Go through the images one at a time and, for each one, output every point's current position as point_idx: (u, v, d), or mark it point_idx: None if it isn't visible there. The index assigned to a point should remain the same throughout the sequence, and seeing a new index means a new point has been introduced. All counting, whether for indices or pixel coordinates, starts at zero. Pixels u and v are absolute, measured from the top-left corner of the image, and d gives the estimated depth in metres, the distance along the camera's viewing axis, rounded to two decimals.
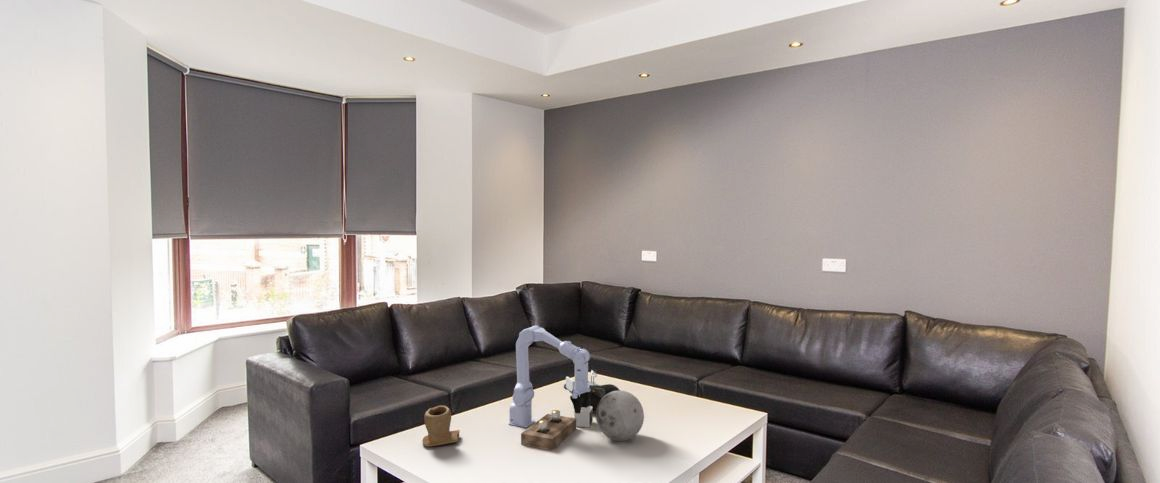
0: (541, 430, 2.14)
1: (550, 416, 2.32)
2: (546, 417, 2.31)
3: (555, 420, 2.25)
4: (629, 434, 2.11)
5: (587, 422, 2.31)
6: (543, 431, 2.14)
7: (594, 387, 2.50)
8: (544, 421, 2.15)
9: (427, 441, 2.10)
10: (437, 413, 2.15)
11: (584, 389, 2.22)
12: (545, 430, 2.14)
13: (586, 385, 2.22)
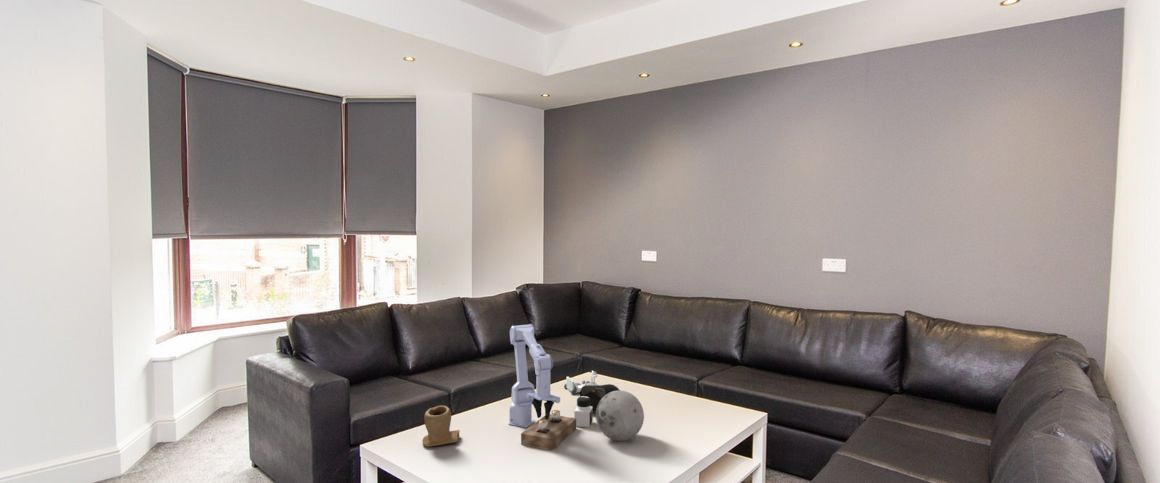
0: (541, 430, 2.14)
1: (550, 416, 2.32)
2: None
3: (555, 420, 2.25)
4: (629, 434, 2.11)
5: (587, 422, 2.31)
6: (543, 431, 2.14)
7: (594, 387, 2.50)
8: (544, 421, 2.15)
9: (427, 441, 2.10)
10: (437, 413, 2.15)
11: (537, 395, 2.14)
12: (545, 430, 2.14)
13: (538, 392, 2.13)
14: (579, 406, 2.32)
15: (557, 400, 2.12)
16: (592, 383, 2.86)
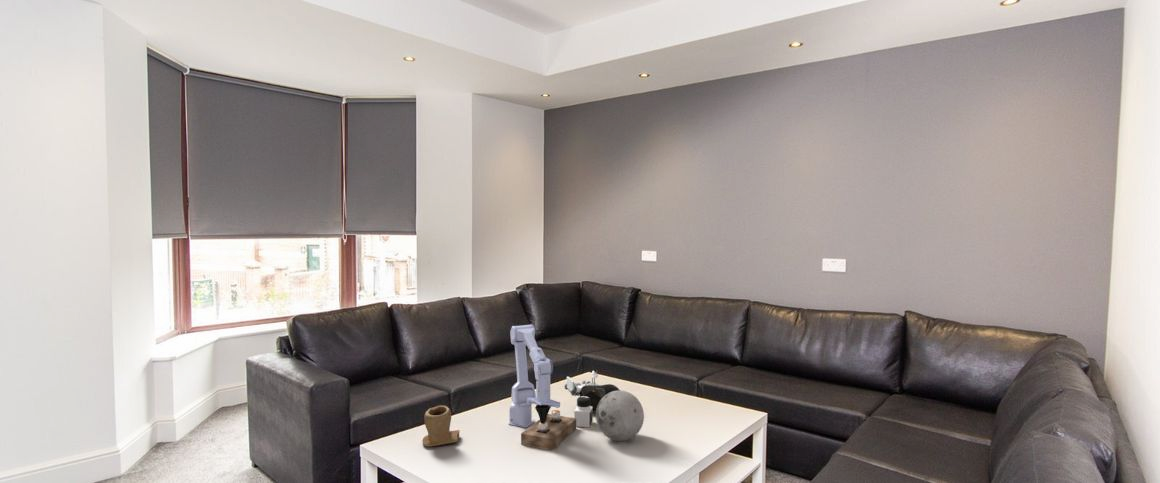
0: (541, 431, 2.14)
1: (550, 416, 2.32)
2: None
3: (555, 420, 2.25)
4: (629, 434, 2.11)
5: (587, 422, 2.31)
6: (543, 432, 2.14)
7: (594, 387, 2.50)
8: (544, 423, 2.15)
9: (427, 441, 2.10)
10: (437, 413, 2.15)
11: (537, 400, 2.14)
12: (545, 431, 2.14)
13: (538, 397, 2.13)
14: (579, 406, 2.32)
15: (557, 405, 2.12)
16: (592, 383, 2.86)
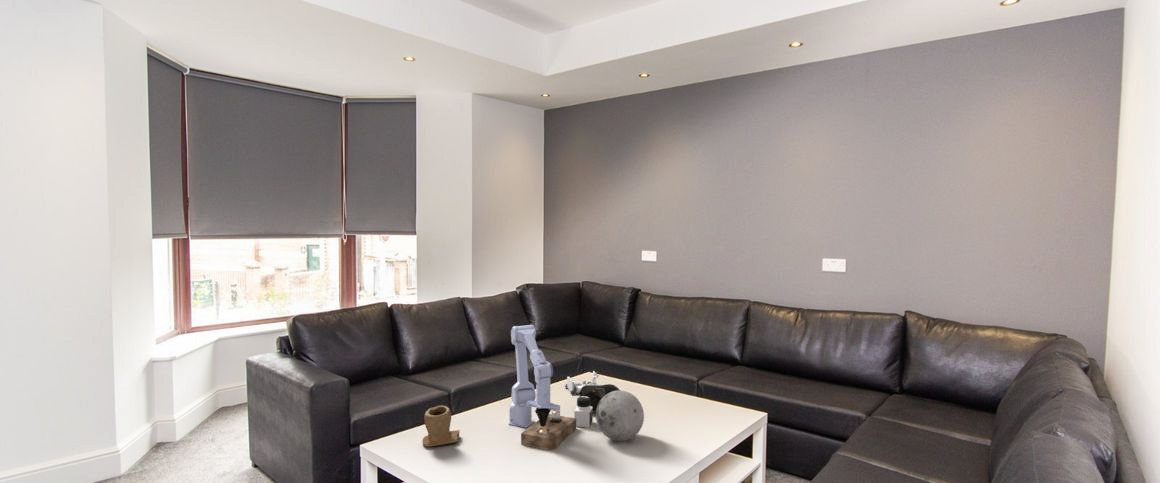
0: None
1: (550, 416, 2.32)
2: None
3: (555, 420, 2.25)
4: (629, 434, 2.11)
5: (587, 422, 2.31)
6: None
7: (594, 387, 2.50)
8: (544, 430, 2.15)
9: (427, 441, 2.10)
10: (437, 413, 2.15)
11: (536, 403, 2.14)
12: None
13: (538, 400, 2.13)
14: (579, 406, 2.32)
15: (557, 408, 2.12)
16: (593, 384, 2.85)
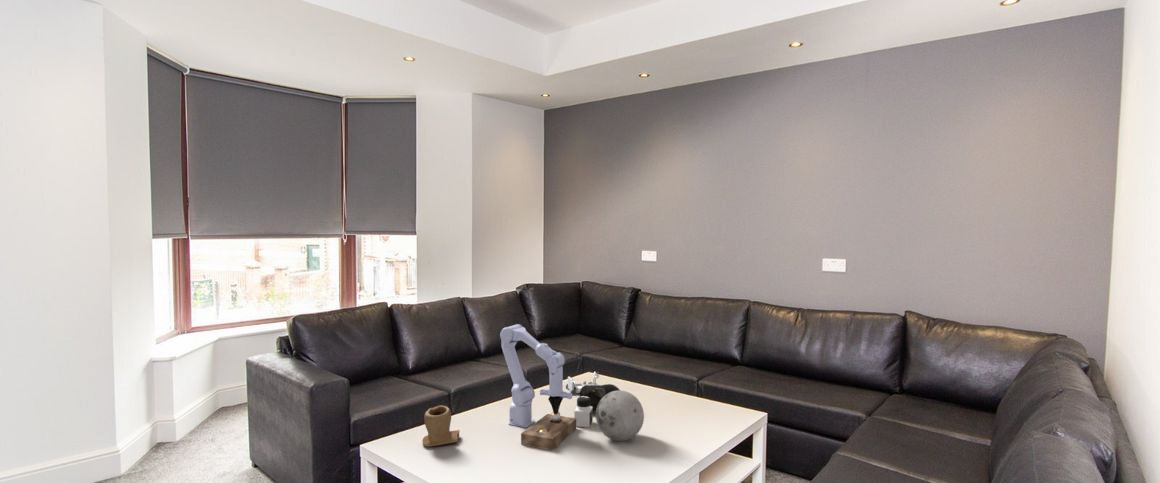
0: None
1: (550, 416, 2.32)
2: (546, 417, 2.31)
3: (555, 422, 2.25)
4: (629, 434, 2.11)
5: (587, 422, 2.31)
6: None
7: (594, 387, 2.50)
8: (544, 430, 2.15)
9: (427, 441, 2.10)
10: (437, 413, 2.15)
11: (550, 391, 2.25)
12: None
13: (551, 389, 2.24)
14: (579, 406, 2.32)
15: (569, 396, 2.23)
16: (594, 384, 2.84)
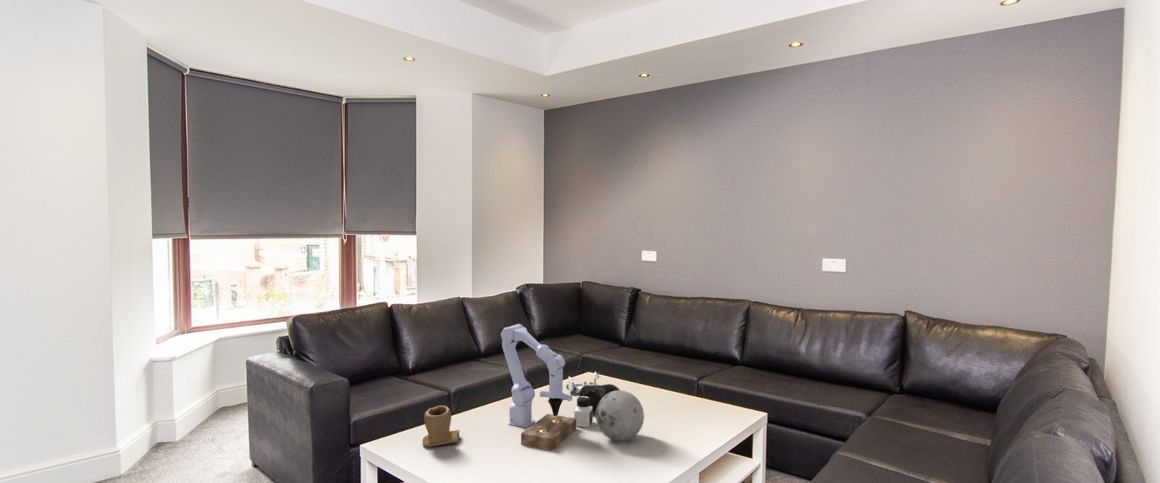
0: None
1: (550, 416, 2.32)
2: (546, 417, 2.31)
3: None
4: (629, 434, 2.11)
5: (587, 422, 2.31)
6: None
7: (594, 387, 2.50)
8: (544, 430, 2.15)
9: (427, 441, 2.10)
10: (437, 413, 2.15)
11: (549, 393, 2.25)
12: None
13: (551, 391, 2.24)
14: (579, 406, 2.32)
15: (569, 398, 2.23)
16: (594, 384, 2.84)
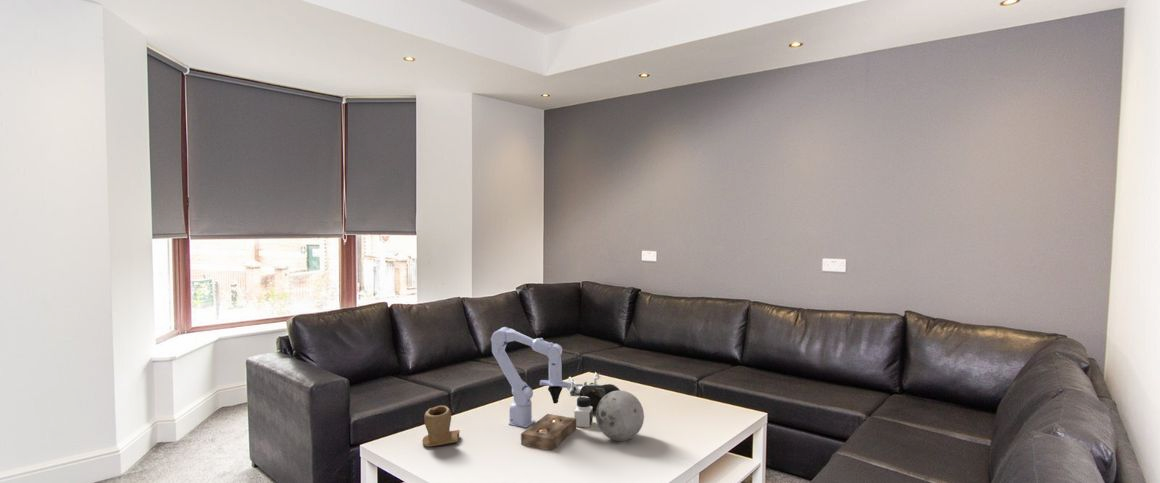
0: None
1: (550, 416, 2.32)
2: (546, 417, 2.31)
3: None
4: (629, 434, 2.11)
5: (587, 422, 2.31)
6: None
7: (594, 387, 2.50)
8: (544, 430, 2.15)
9: (427, 441, 2.10)
10: (437, 413, 2.15)
11: (549, 382, 2.31)
12: None
13: (551, 379, 2.30)
14: (579, 406, 2.32)
15: (568, 386, 2.29)
16: None
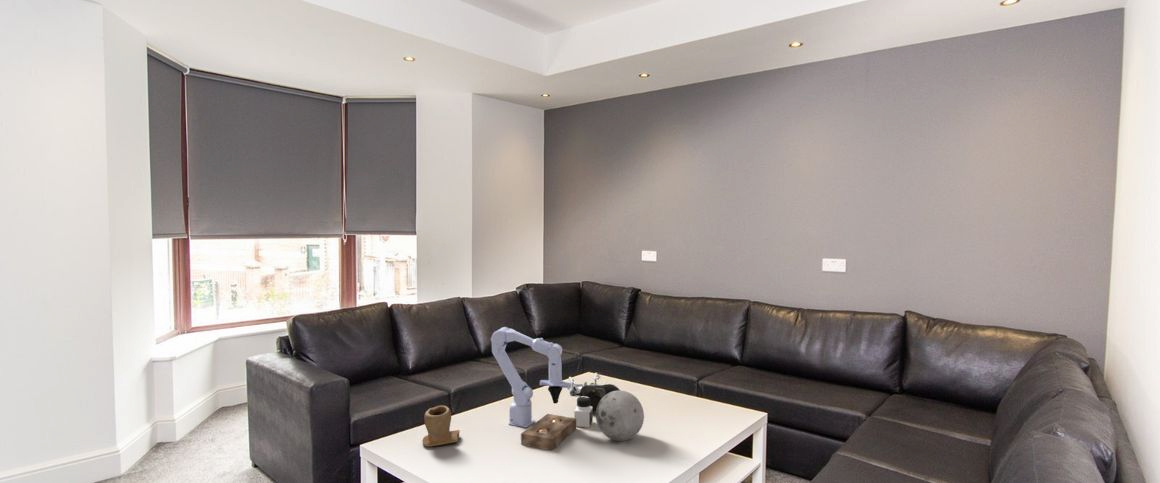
0: None
1: (550, 416, 2.32)
2: (546, 417, 2.31)
3: None
4: (629, 434, 2.11)
5: (587, 422, 2.31)
6: None
7: (594, 387, 2.50)
8: (544, 430, 2.15)
9: (427, 441, 2.10)
10: (437, 413, 2.15)
11: (549, 382, 2.31)
12: None
13: (551, 379, 2.30)
14: (579, 406, 2.32)
15: (568, 386, 2.29)
16: None
